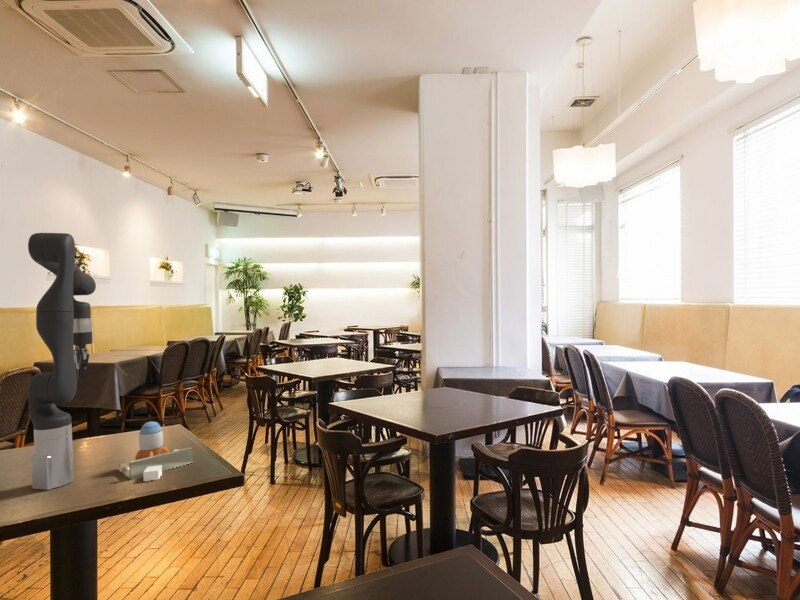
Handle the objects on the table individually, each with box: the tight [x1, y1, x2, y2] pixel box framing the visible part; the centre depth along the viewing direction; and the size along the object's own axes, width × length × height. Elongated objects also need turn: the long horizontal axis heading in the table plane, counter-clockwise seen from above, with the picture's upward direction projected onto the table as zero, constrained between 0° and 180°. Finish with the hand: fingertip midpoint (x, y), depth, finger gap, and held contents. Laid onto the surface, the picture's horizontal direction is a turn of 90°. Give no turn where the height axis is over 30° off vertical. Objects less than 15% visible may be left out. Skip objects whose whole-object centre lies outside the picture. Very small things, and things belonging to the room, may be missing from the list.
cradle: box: [118, 446, 194, 480], centre depth 156 cm, size 13×18×5 cm
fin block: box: [142, 465, 163, 482], centre depth 146 cm, size 5×4×3 cm
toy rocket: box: [134, 421, 170, 461], centre depth 158 cm, size 10×11×15 cm
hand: (81, 379), depth 174 cm, fingers closed
